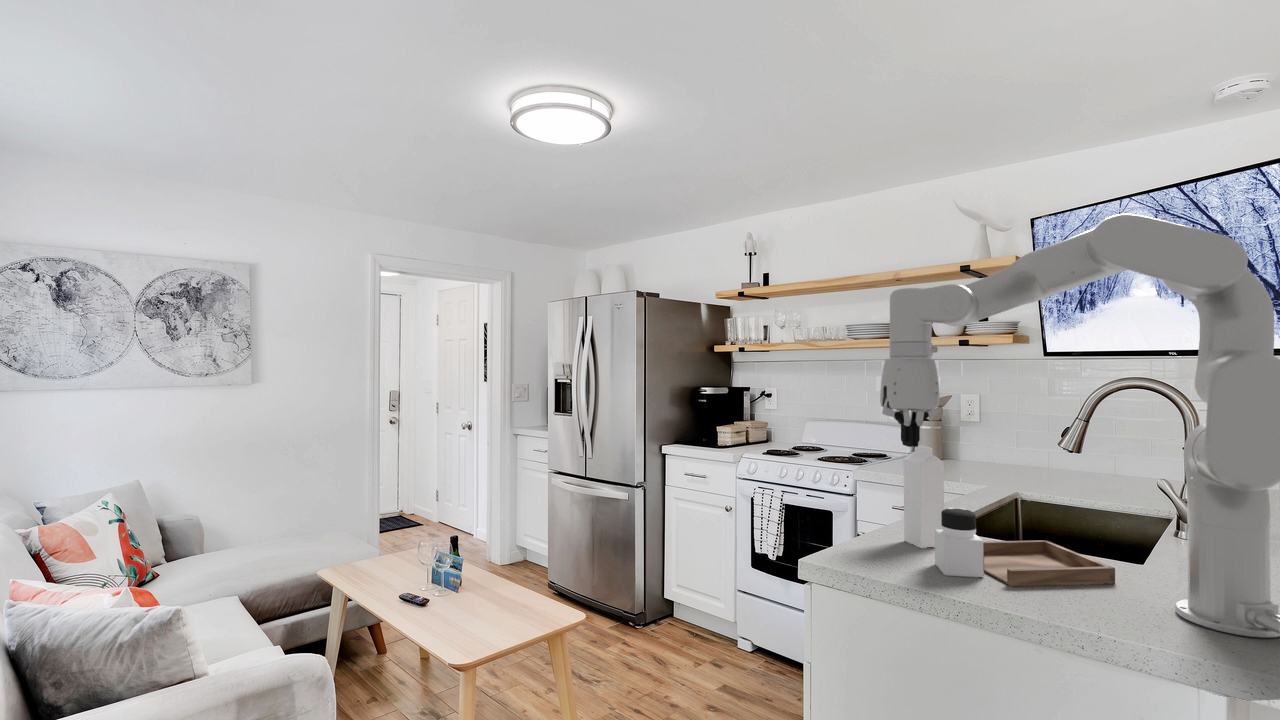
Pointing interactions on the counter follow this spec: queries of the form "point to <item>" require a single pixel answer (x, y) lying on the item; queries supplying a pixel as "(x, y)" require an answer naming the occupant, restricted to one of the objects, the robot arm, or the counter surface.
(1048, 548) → the walnut tray
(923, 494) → the milk
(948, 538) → the medicine bottle
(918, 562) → the counter surface
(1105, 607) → the counter surface
